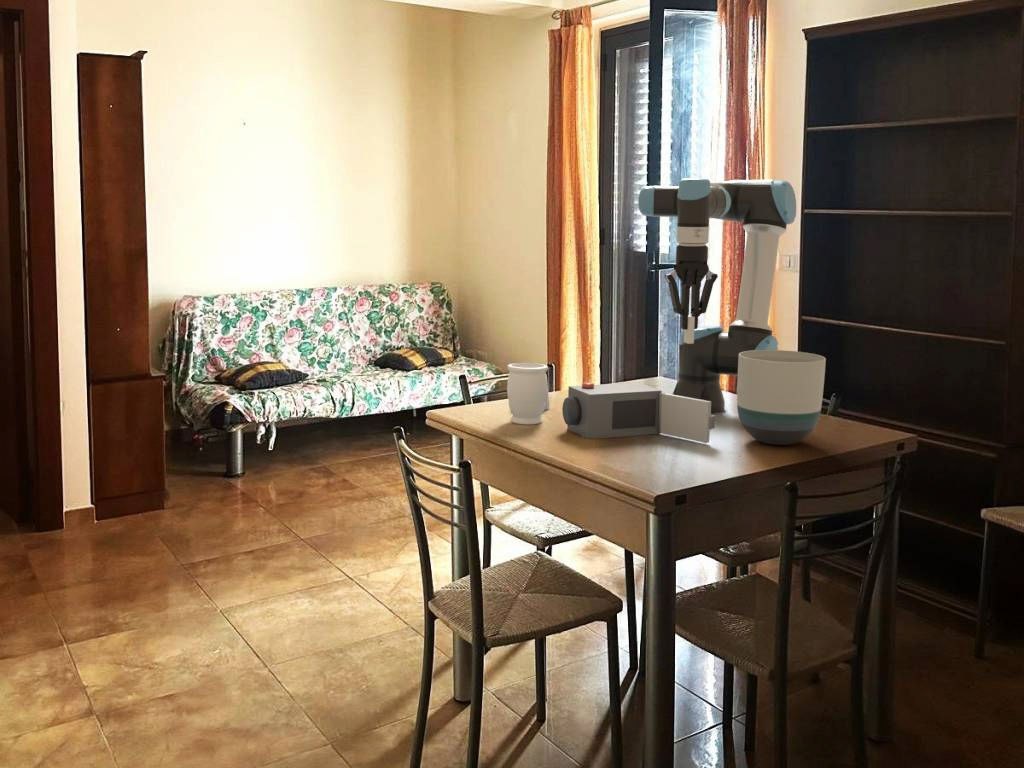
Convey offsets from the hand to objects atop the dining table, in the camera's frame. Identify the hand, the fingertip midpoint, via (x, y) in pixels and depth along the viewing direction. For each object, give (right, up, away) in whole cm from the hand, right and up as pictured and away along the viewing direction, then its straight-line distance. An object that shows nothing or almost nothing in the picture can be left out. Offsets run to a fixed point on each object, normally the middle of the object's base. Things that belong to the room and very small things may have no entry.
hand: (688, 342), depth 260 cm
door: (0, -23, +4) cm, 23 cm away
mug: (-37, -17, +38) cm, 56 cm away
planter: (+22, -25, +2) cm, 33 cm away
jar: (-39, -20, +21) cm, 49 cm away
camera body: (-17, -22, +12) cm, 30 cm away
